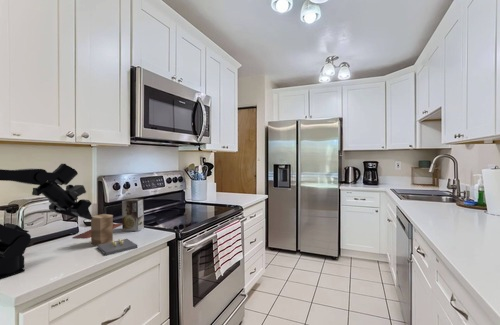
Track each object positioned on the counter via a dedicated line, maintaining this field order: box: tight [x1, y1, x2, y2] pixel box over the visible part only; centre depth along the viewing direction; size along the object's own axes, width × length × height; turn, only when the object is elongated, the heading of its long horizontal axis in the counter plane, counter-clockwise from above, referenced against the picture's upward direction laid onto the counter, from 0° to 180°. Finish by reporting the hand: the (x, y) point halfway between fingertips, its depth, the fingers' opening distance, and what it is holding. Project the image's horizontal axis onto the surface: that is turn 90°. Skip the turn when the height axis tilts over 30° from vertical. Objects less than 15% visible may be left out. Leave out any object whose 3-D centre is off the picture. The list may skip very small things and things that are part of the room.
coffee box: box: [121, 198, 145, 232], centre depth 135 cm, size 9×6×16 cm
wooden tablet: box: [72, 222, 122, 240], centre depth 132 cm, size 27×10×2 cm, turn 172°
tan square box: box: [90, 213, 114, 246], centre depth 113 cm, size 6×6×12 cm
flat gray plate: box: [96, 238, 138, 256], centre depth 107 cm, size 12×12×3 cm
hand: (84, 217), depth 106 cm, fingers open, 9 cm apart
